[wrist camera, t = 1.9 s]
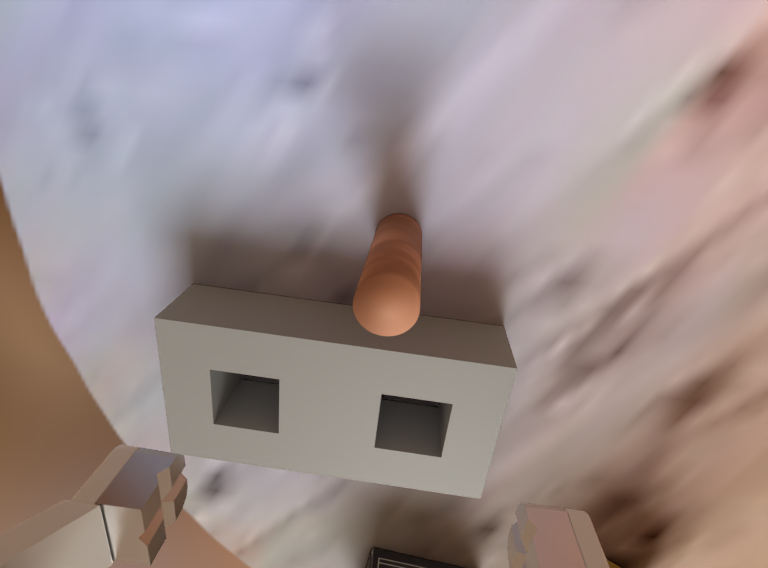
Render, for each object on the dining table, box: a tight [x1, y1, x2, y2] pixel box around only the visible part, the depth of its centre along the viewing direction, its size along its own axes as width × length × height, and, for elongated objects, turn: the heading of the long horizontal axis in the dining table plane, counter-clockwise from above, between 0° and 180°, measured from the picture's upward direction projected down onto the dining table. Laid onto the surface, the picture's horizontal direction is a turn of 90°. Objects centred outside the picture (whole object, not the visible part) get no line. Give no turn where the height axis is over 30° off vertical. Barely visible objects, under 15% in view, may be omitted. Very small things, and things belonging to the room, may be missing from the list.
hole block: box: [154, 284, 517, 499], centre depth 31 cm, size 22×11×5 cm, turn 84°
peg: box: [353, 213, 422, 336], centre depth 24 cm, size 3×3×10 cm
